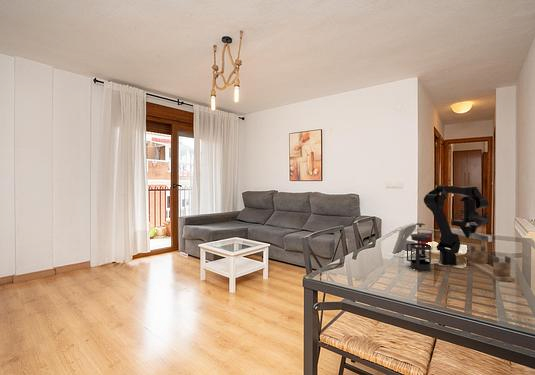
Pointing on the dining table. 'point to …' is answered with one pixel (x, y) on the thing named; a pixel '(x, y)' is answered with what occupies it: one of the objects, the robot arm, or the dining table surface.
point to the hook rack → (498, 270)
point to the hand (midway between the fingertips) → (469, 237)
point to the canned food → (426, 234)
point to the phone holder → (404, 239)
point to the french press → (420, 252)
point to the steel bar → (473, 235)
